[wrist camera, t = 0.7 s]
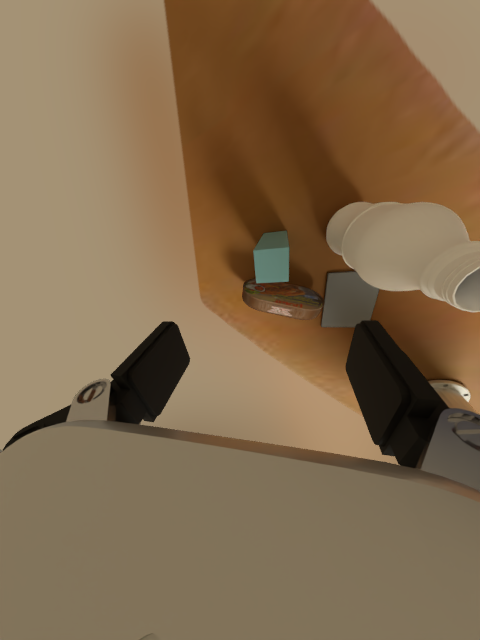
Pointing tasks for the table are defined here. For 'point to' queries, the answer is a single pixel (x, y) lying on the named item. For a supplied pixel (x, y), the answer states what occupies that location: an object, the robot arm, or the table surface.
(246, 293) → the tin
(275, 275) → the stick
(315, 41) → the table surface
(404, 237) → the water bottle
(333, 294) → the mat
